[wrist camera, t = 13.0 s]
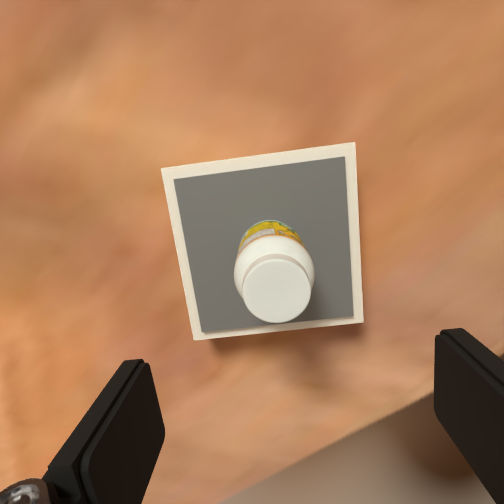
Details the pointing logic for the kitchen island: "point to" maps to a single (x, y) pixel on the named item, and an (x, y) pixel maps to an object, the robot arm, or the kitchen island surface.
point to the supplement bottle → (273, 272)
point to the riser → (260, 209)
